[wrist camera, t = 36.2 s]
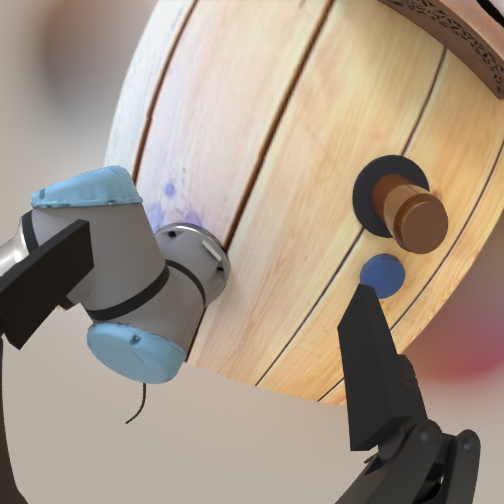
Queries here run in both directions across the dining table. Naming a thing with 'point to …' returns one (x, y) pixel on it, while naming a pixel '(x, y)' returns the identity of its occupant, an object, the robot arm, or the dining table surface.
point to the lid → (383, 275)
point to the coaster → (368, 181)
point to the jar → (410, 213)
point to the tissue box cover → (464, 32)
